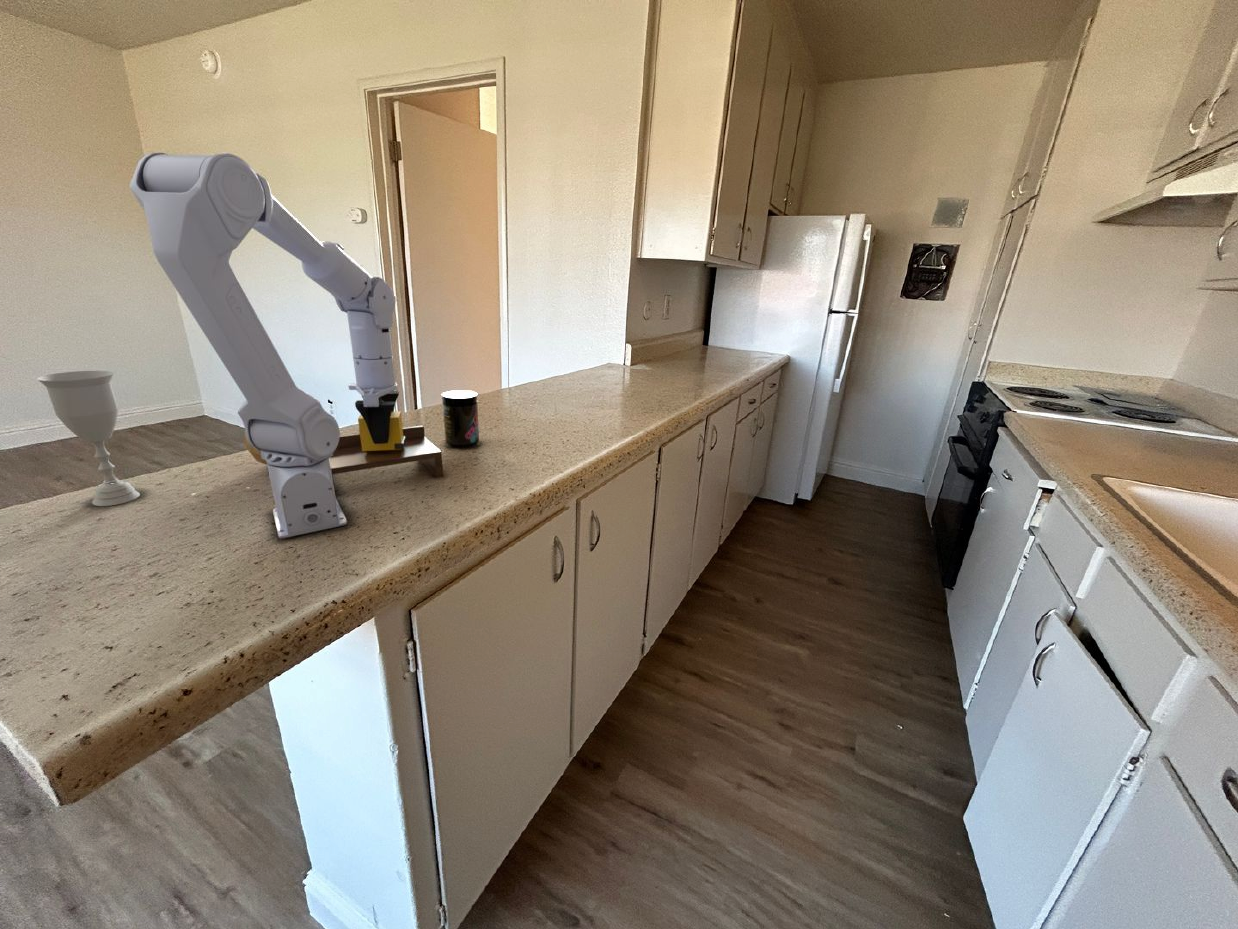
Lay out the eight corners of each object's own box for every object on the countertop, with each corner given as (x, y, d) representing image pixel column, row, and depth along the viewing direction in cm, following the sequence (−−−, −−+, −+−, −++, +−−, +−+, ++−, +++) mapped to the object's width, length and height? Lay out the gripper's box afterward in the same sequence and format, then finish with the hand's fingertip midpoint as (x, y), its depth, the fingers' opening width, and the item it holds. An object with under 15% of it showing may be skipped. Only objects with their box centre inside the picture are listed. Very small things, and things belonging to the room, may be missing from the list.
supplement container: (462, 451, 100) (459, 399, 97) (438, 444, 103) (434, 394, 100) (486, 443, 106) (484, 393, 102) (463, 437, 109) (460, 388, 105)
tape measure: (403, 449, 85) (400, 417, 83) (360, 451, 83) (356, 418, 81) (405, 441, 88) (402, 411, 86) (364, 443, 86) (360, 412, 84)
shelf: (443, 475, 88) (440, 440, 86) (326, 497, 78) (319, 457, 76) (425, 458, 96) (422, 425, 93) (316, 476, 85) (310, 439, 83)
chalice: (106, 512, 70) (63, 382, 64) (67, 505, 71) (21, 378, 65) (161, 491, 77) (127, 373, 71) (125, 486, 78) (88, 369, 72)
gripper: (353, 349, 86) (363, 426, 90) (335, 364, 73) (348, 454, 77) (398, 349, 88) (406, 425, 92) (388, 364, 75) (398, 451, 79)
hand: (382, 438), depth 85 cm, fingers closed on tape measure, 4 cm apart
